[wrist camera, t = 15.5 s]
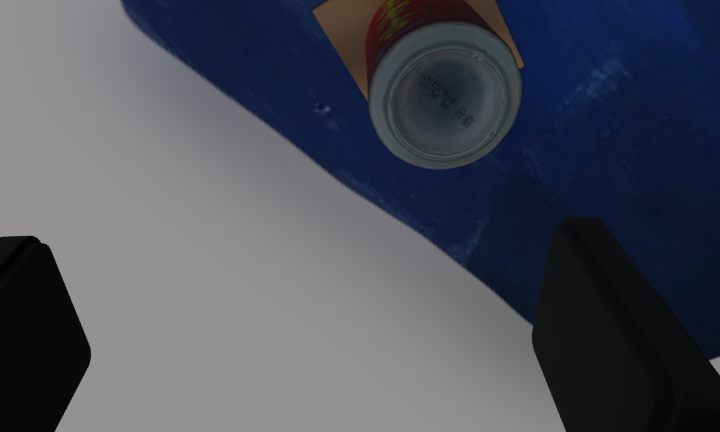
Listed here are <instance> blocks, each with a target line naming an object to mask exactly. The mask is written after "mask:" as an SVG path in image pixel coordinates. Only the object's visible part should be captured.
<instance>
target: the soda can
mask: <svg viewBox="0 0 720 432" xmlns="http://www.w3.org/2000/svg"><path fill="white" fill-rule="evenodd" d="M365 56H366V69H367V91H368V109H369V116H370V119H371V121H372V124H373V127H374V129H375V131H376V133H377V135H378V136H379V138H380V140H381V141H382V143H383V144H384V145H385V146H386V147H387V148H388V149H389V150H390V151H391V152H392V153H393V154H394V155H395V156H397V157H398V158H400V159H402V160H404V161H405V162H407V163H409V164H412V165H415V166H419V167H423V168H427V169H449V168H455V167H461V166H464V165H467V164H470V163H473V162H474V161H476V160H478V159H480V158H482V157H483V156H485V155H486V154H488V153H489V152H491V151H492V150H493V149H494V148H495V147H497V145H498V144H499V143H500V142H501V141H502V140H503V138H504V137H505V136H506V135H507V133H508V132H509V130H510V129H511V128H512V126H513V123H514V121H515V119H516V117H517V115H518V112H519V109H520V104H521V98H522V77H521V73H520V70H519V67H518V64H517V61H516V59H515V56H514V54H513V52H512V50H511V48H510V47H509V46H508V44H507V43H506V42H505V41H504V40H503V39H502V38H501V37H500V36H499V35H498V34H497V33H496V32H495V31H494V30H493V29H492V28H491V27H490V26H489V25H488V24H487V23H486V22H485V20H484V19H483V18H482V17H481V16H480V15H479V14H478V13H477V12H476V11H475V10H474V9H473V8H472V7H471V6H470V5H469V4H468V3H467V2H466V1H465V0H387V1H386V2H385V3H384V4H383V5H382V6H381V7H380V8H379V9H378V10H377V12H376V13H375V15H374V17H373V19H372V21H371V23H370V25H369V28H368V31H367V36H366V42H365Z"/></svg>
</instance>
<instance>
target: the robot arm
mask: <svg viewBox="0 0 720 432" xmlns="http://www.w3.org/2000/svg"><path fill="white" fill-rule="evenodd" d="M532 343H533V348H534V352H535V354H536V357H537V359H538V362H539V364H540V367H541V369H542V372H543V374H544V377H545V380H546V382H547V385H548V387H549V389H550V392H551V395H552V397H553V400H554V402H555V405H556V407H557V410H558V412H559V415H560V417H561V420H562V422H563V425H564V427H565V430H566V432H720V375H719V374H718V372H717V371H716V370H715V368H714V367H713V366H712V364H711V363H710V362H709V360H708V359H707V358H706V356H705V355H704V354H703V352H702V351H701V350H700V348H699V347H698V346H697V344H696V343H695V342H694V340H693V339H692V338H691V336H690V335H689V333H688V332H687V331H686V329H685V328H684V327H683V325H682V324H681V323H680V321H679V320H678V319H677V317H676V316H675V315H674V313H673V312H672V311H671V309H670V308H669V307H668V305H667V304H666V303H665V301H664V300H663V299H662V297H661V296H660V295H659V294H658V293H657V292H656V291H655V290H654V289H653V288H651V286H650V285H649V283H648V282H647V281H646V279H645V278H644V277H643V275H642V274H641V273H640V271H639V270H638V269H637V267H636V266H635V265H634V263H633V262H632V260H631V259H630V258H629V256H628V255H627V254H626V252H625V251H624V250H623V248H622V247H621V246H620V244H619V243H618V242H617V240H616V239H615V238H614V236H613V235H612V233H611V232H610V231H609V229H608V228H607V227H606V225H605V224H604V223H603V221H602V220H601V219H600V218H596V217H595V218H567V219H565V220H564V222H563V224H562V226H556V227H555V228H554V229H553V232H552V236H551V241H550V246H549V251H548V256H547V261H546V266H545V271H544V276H543V281H542V286H541V291H540V296H539V301H538V306H537V311H536V316H535V320H534V325H533V331H532ZM90 359H91V349H90V345H89V343H88V340H87V338H86V335H85V333H84V331H83V328H82V326H81V323H80V321H79V318H78V316H77V313H76V311H75V308H74V306H73V303H72V301H71V298H70V296H69V294H68V291H67V289H66V286H65V284H64V281H63V279H62V276H61V274H60V272H59V269H58V266H57V264H56V261H55V259H54V257H53V254H52V252H51V249H50V248H49V246H48V245H47V244H44V243H41V242H40V240H38V238H36V237H34V236H11V237H10V236H9V237H0V432H55V430H56V428H57V426H58V424H59V422H60V420H61V418H62V416H63V415H64V412H65V411H66V409H67V407H68V405H69V403H70V401H71V399H72V397H73V395H74V393H75V391H76V390H77V388H78V385H79V384H80V382H81V380H82V378H83V376H84V374H85V372H86V370H87V368H88V366H89V364H90Z"/></svg>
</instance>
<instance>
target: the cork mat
mask: <svg viewBox="0 0 720 432" xmlns="http://www.w3.org/2000/svg"><path fill="white" fill-rule="evenodd" d="M386 1H387V0H327V1H326V2H324V3H323V4H321V5H320V6H318V7H317V8H315V9H313V11H312V12H313V14H314V15H315V17H316V18H317V20H318V22H319V23H320V25H321V27H322V28H323V30H324V31H325V33H326V35H327V36H328V38H329V40H330V41H331V43H332V44H333V46H334V48H335V49H336V51H337V52H338V54H339V56H340V57H341V59H342V61H343V62H344V64H345V65H346V67H347V69H348V70H349V72H350V74H351V75H352V77H353V78H354V80H355V82H356V83H357V85H358V86H359V88H360V90H361V91H362V93H363V95H364V96H365V98H366V99H367V101H368V91H367V69H366V56H365V42H366V36H367V31H368V28H369V25H370V23H371V21H372V19H373V17H374V15H375V13H376V12H377V10H378V9H379V8H380V7H381V6H382V5H383V4H384V3H385V2H386ZM465 1H466V2H467V3H468V4H469V5H470V6H471V7H472V8H473V9H474V10H475V11H476V12H477V13H478V14H479V15H480V16H481V17H482V18H483V19H484V20H485V22H486V23H487V24H488V25H489V26H490V27H491V28H492V29H493V30H494V31H495V32H496V33H497V34H498V35H499V36H500V37H501V38H502V39H503V40H504V41H505V42H506V43H507V44H508V46H509V47H510V48H511V50H512V52H513V54H514V56H515V59H516V61H517V64H518V67H519V69H520V68H522V67H524V63H523V61H522V59H521V57H520V54H519V52H518V50H517V48H516V45H515V43H514V41H513V39H512V36H511V34H510V32H509V30H508V27H507V25H506V23H505V21H504V18H503V16H502V14H501V12H500V9H499V7H498V5H497V3H496V0H465Z"/></svg>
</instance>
